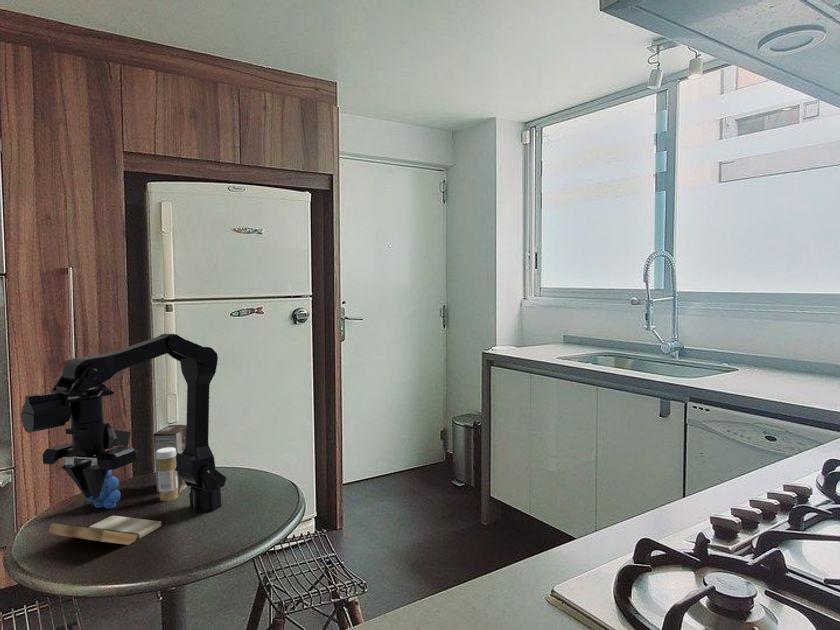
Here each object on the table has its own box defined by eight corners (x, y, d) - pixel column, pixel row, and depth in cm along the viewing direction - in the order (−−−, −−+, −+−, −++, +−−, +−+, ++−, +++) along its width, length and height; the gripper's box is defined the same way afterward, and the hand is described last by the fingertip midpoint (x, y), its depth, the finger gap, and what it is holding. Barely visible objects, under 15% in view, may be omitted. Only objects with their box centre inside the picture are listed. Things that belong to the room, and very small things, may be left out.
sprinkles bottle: (182, 498, 139) (179, 446, 138) (171, 505, 134) (168, 452, 134) (166, 498, 140) (163, 446, 139) (155, 505, 135) (151, 451, 135)
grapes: (68, 514, 131) (64, 465, 131) (93, 503, 138) (90, 457, 137) (104, 519, 127) (101, 469, 127) (128, 508, 134) (125, 460, 133)
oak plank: (134, 545, 113) (137, 535, 114) (100, 541, 106) (104, 530, 106) (83, 538, 118) (87, 528, 118) (47, 533, 110) (51, 523, 111)
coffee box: (172, 481, 152) (169, 424, 151) (195, 480, 152) (192, 423, 151) (155, 493, 143) (152, 433, 142) (179, 493, 143) (176, 432, 142)
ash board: (161, 530, 120) (161, 521, 120) (139, 542, 115) (139, 533, 114) (112, 524, 125) (112, 515, 125) (89, 535, 119) (89, 526, 119)
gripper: (156, 413, 113) (160, 487, 113) (87, 410, 118) (92, 480, 119) (110, 426, 102) (115, 508, 103) (38, 422, 108) (43, 499, 109)
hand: (92, 497), depth 109 cm, fingers closed
